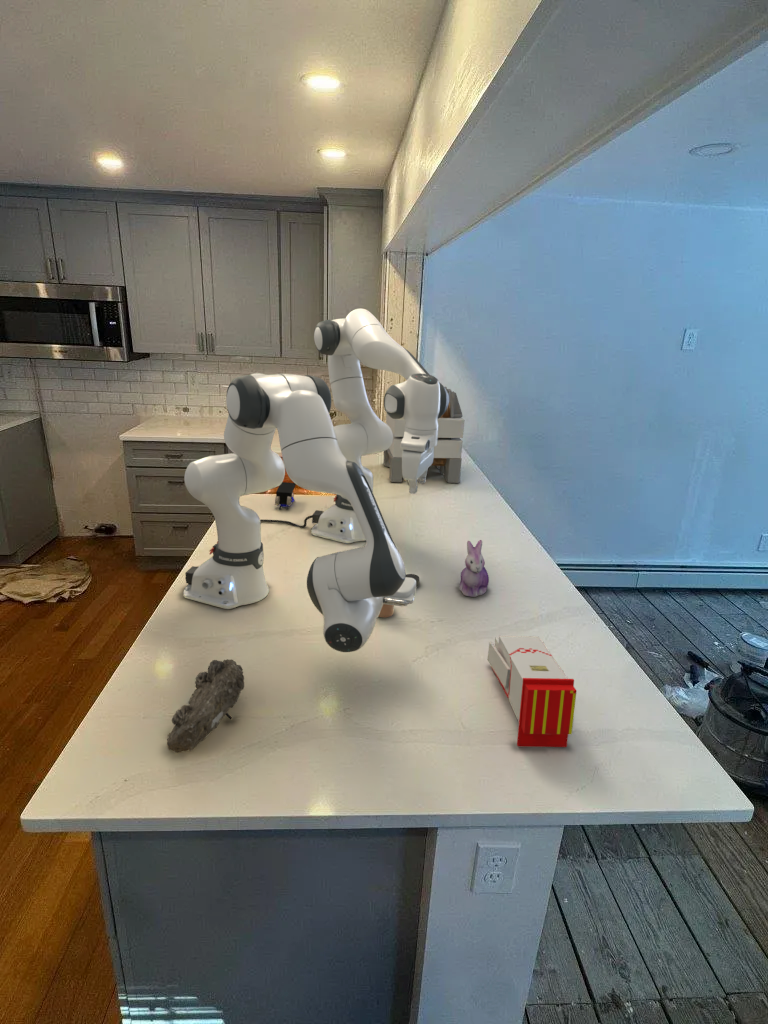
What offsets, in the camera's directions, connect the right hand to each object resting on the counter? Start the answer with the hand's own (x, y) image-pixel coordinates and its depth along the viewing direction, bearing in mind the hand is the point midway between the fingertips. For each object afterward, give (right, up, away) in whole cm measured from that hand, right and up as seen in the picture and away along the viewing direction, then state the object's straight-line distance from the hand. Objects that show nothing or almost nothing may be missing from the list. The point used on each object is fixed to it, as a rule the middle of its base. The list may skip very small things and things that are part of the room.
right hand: (417, 488), depth 154 cm
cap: (-1, -26, +9) cm, 27 cm away
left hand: (-11, -20, -24) cm, 33 cm away
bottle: (-9, -33, -6) cm, 34 cm away
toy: (+19, -45, -37) cm, 62 cm away
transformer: (+8, +12, +121) cm, 122 cm away
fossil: (-42, -46, -46) cm, 77 cm away
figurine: (+16, -29, +8) cm, 34 cm away
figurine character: (-48, -4, +69) cm, 84 cm away
